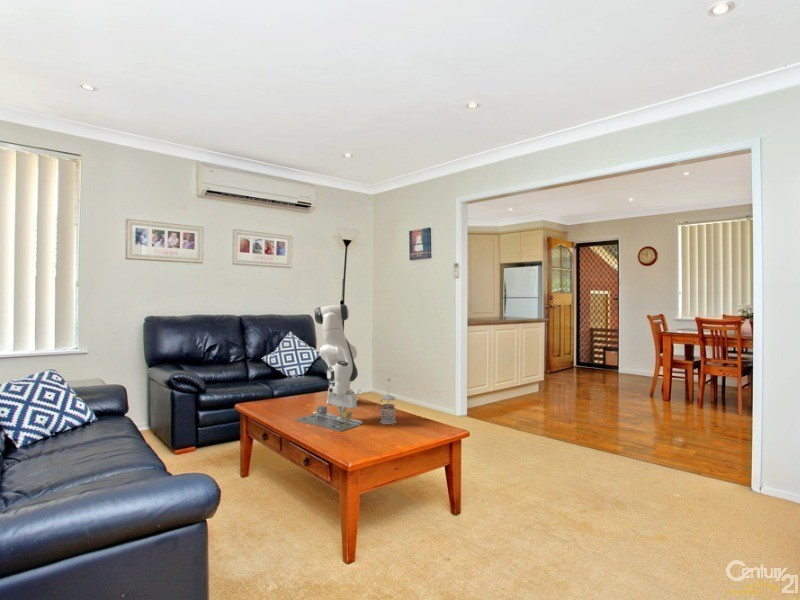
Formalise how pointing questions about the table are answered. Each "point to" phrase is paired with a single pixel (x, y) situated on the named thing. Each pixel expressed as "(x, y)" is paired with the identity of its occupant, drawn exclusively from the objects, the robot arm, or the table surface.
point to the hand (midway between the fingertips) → (341, 414)
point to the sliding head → (346, 415)
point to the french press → (387, 419)
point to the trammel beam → (335, 416)
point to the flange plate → (327, 422)
